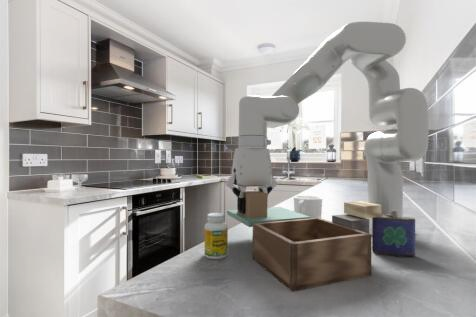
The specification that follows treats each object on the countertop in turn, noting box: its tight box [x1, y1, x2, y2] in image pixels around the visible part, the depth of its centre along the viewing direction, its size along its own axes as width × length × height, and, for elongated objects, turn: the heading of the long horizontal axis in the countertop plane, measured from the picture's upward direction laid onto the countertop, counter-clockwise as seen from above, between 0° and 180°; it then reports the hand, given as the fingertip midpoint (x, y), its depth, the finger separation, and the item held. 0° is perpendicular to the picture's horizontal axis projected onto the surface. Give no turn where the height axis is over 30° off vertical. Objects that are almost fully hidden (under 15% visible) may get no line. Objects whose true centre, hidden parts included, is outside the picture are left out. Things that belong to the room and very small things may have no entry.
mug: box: [293, 195, 323, 219], centre depth 86 cm, size 11×9×10 cm
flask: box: [371, 210, 416, 258], centre depth 64 cm, size 9×3×11 cm, turn 74°
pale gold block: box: [343, 200, 381, 219], centre depth 62 cm, size 5×6×3 cm
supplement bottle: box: [204, 212, 229, 260], centre depth 63 cm, size 5×5×10 cm
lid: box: [226, 189, 311, 228], centre depth 73 cm, size 17×15×7 cm
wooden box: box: [251, 213, 372, 292], centre depth 57 cm, size 23×16×10 cm
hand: (251, 211), depth 71 cm, fingers closed on lid, 5 cm apart
